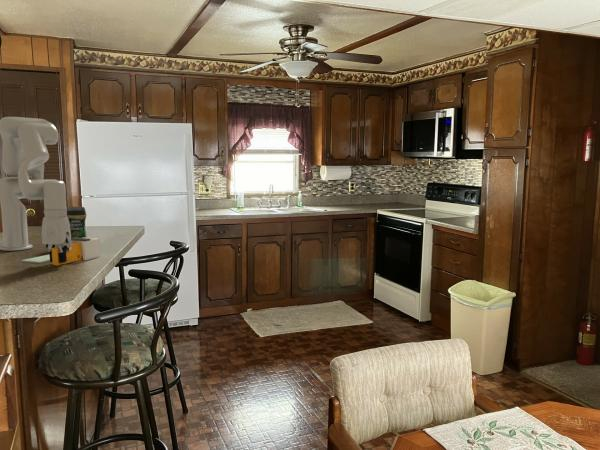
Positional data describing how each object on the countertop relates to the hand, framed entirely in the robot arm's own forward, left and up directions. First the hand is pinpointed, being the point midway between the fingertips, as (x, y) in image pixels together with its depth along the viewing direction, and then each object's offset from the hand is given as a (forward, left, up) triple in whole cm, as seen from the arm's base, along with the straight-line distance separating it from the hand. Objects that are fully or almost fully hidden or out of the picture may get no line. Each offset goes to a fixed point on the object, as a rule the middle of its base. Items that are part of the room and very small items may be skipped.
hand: (58, 261), depth 189 cm
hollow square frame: (0, +13, -1) cm, 13 cm away
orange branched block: (0, +4, -1) cm, 4 cm away
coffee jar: (-21, +31, -1) cm, 38 cm away
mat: (-12, +5, -1) cm, 13 cm away
